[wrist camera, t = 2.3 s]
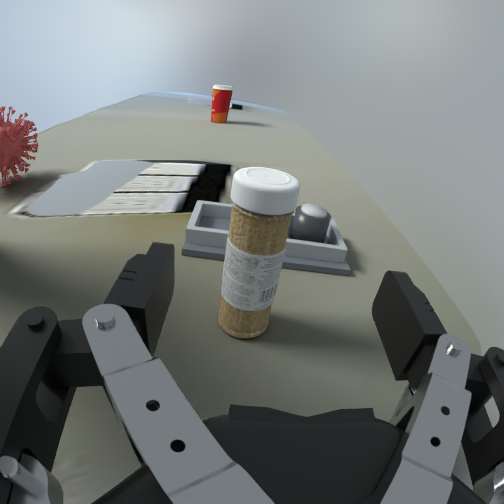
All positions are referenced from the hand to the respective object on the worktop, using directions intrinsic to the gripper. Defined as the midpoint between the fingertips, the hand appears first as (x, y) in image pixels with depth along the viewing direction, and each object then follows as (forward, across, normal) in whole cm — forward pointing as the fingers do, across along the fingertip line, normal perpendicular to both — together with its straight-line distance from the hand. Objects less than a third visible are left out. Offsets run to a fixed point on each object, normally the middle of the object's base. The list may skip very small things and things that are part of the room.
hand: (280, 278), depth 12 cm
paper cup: (+112, +13, +12) cm, 113 cm away
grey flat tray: (+26, -2, +13) cm, 30 cm away
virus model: (+36, +46, +12) cm, 60 cm away
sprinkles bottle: (+12, 0, +13) cm, 18 cm away
